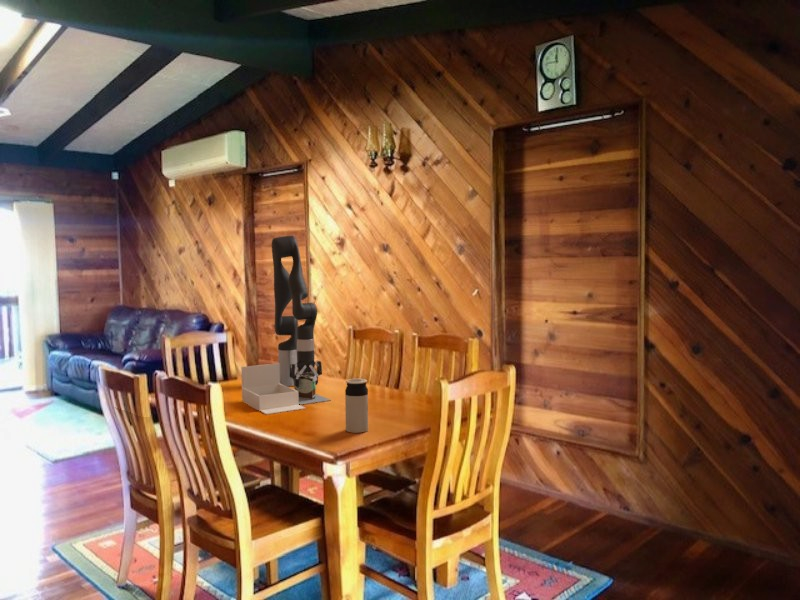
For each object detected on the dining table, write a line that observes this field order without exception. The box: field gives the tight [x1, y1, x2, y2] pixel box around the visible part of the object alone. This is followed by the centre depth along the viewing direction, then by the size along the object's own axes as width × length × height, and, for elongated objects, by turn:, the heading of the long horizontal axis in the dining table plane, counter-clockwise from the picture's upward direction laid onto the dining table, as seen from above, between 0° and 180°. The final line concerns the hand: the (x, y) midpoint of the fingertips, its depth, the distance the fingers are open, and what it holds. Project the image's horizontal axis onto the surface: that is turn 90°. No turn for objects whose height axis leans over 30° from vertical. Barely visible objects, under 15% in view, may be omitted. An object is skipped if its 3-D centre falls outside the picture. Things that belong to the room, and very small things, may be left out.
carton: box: [240, 362, 307, 416], centre depth 268 cm, size 17×27×15 cm, turn 34°
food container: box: [292, 372, 317, 400], centre depth 281 cm, size 12×6×10 cm, turn 58°
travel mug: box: [344, 378, 369, 434], centre depth 229 cm, size 8×8×18 cm
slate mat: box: [299, 393, 332, 406], centre depth 281 cm, size 14×20×1 cm
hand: (306, 386), depth 280 cm, fingers open, 8 cm apart
